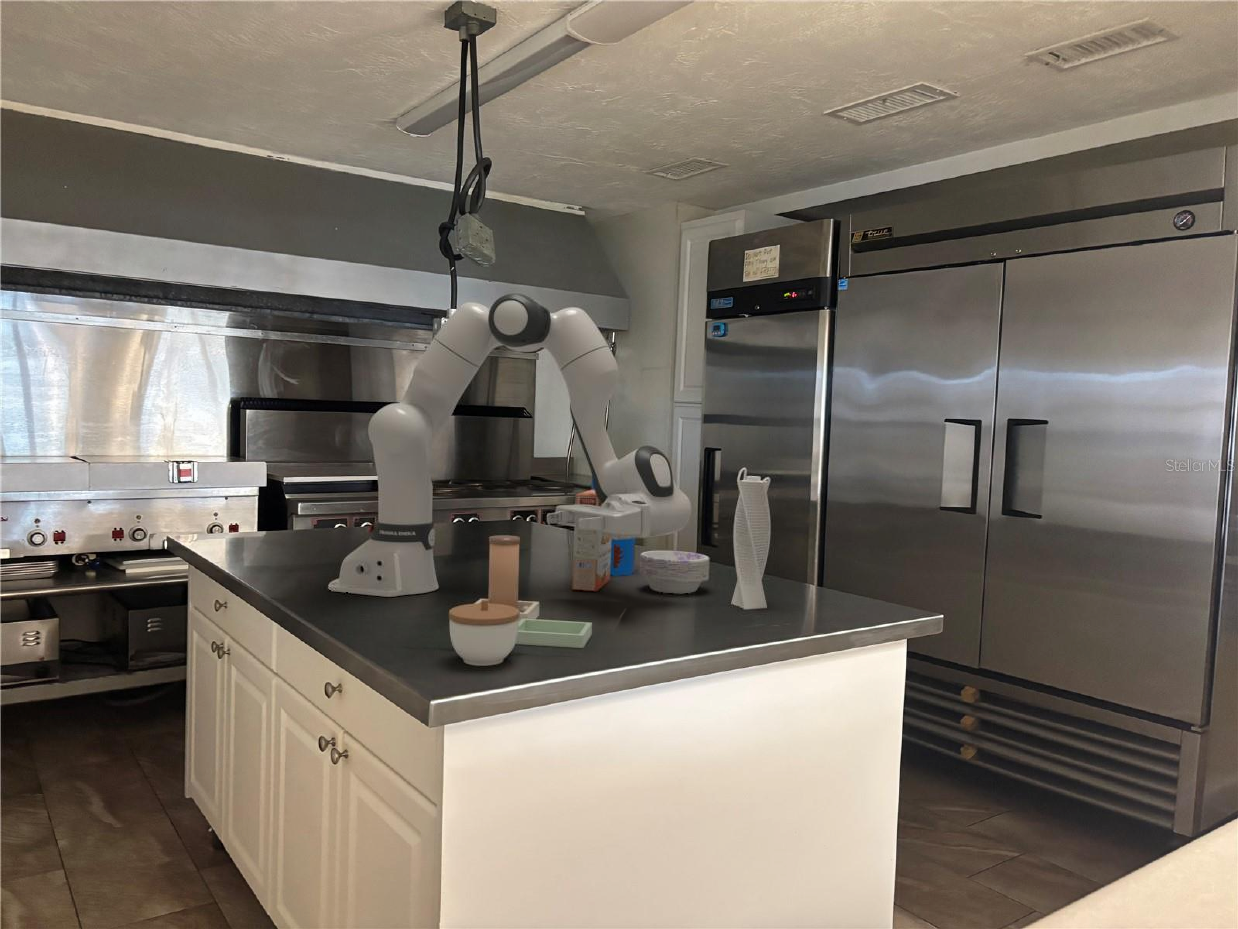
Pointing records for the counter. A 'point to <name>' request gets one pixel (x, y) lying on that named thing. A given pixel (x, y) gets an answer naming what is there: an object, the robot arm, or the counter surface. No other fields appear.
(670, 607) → the counter surface
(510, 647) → the lidded jar
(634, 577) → the counter surface
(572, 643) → the sage tray
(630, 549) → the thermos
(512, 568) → the terracotta canister
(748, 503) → the skyscraper
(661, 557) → the paper bowls
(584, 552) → the cracker box
